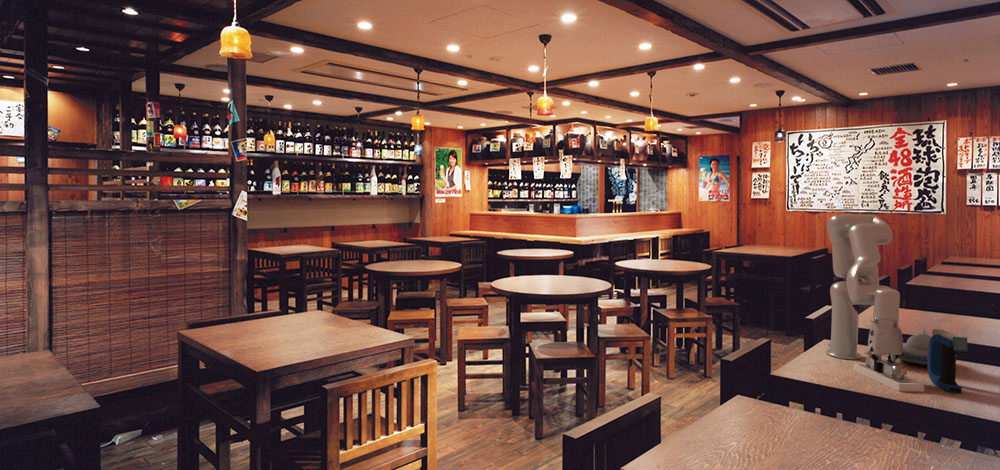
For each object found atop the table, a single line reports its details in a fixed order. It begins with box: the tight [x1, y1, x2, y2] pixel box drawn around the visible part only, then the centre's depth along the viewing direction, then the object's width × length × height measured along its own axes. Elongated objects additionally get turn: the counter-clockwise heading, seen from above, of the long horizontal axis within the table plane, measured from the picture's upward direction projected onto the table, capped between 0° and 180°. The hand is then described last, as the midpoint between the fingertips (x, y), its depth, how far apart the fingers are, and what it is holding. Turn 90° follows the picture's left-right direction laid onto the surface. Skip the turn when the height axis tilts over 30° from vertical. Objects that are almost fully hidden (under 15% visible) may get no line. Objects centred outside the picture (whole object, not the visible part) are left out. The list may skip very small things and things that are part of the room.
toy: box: [897, 326, 958, 366], centre depth 216 cm, size 20×20×15 cm
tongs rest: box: [852, 363, 925, 392], centre depth 195 cm, size 24×9×3 cm, turn 0°
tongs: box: [865, 355, 908, 380], centre depth 195 cm, size 17×4×4 cm, turn 0°
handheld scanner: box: [926, 328, 968, 394], centre depth 187 cm, size 5×16×20 cm, turn 166°
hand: (883, 371), depth 197 cm, fingers closed on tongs, 3 cm apart
